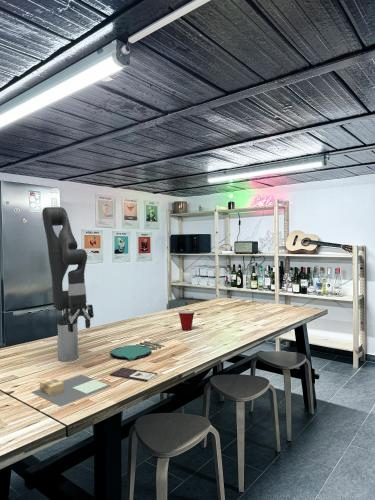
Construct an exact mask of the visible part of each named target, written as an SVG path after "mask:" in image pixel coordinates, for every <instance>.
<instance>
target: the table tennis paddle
mask: <svg viewBox="0 0 375 500" xmlns="http://www.w3.org/2000/svg"><path fill="white" fill-rule="evenodd" d="M140 344H141V345H140ZM164 347H166V346H165V345H163V344H159V343H157V342H156V343H155V342H154V343H153V342H149V341H146V340H144V341H143V342H139V344H127V345H123V346H119V347H116V348H112V349H111V350H110V352H109V355H112V356H113V357H116V358H119V359H127V360H129V361H134V360H135V359H137V358H142V357H144V356H148V355H149V354H150V353H152V350H154V351H155V350H158V348H159V349H160V348H164Z"/></svg>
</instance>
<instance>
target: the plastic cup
mask: <svg viewBox="0 0 375 500" xmlns="http://www.w3.org/2000/svg"><path fill="white" fill-rule="evenodd" d="M177 313H178V315H179V320H180V325H181V329H182V331H184V332H188V331H189V332H190V331H191V330H192V327H193V319H194V315H195V313H196V311H194V310H180V311H177Z"/></svg>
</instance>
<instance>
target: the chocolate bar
mask: <svg viewBox="0 0 375 500" xmlns="http://www.w3.org/2000/svg"><path fill="white" fill-rule="evenodd" d="M157 375H158V372H154V371H147V370H140V369H134V368H127V367H121V368H118V369H117V370H114V371H113V372H112V373H110V374H109V376H110V377H116V378H121V379H125V380H126V379H127V380H133V381H136V382H137V381H139V382H144V383H147V382H148V381H150V380H151V379H153V378H154V377H156V376H157Z"/></svg>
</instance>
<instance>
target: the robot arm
mask: <svg viewBox="0 0 375 500" xmlns="http://www.w3.org/2000/svg"><path fill="white" fill-rule="evenodd" d="M42 222H43V227H44V231H45V237H46V244H47V253H48V261H49V267H50V268H49V269H50V273H51V286H52V288H51V289H52V303H53V307H54V309H55V311H56V310H57V311H59V312H61V311H62V315H61V316H59V317H58V318H57V340H56V341H57V342H56V343H57V359H58V361H59V362H71V361H75V360H77V359H78V358H79V333H78V332H79V331H78V330H79V328H78V327H79V326H78V321H79V320H78V319H79V317H83V318H84V323H85V325H84V326H85V329H90V327H91V319H92V318H95V316H94V308H93V307H94V305H92V304H87V302H88V301H87V289H86V282H85V272H86V271H85V270H86V266H87V261H88V253H87V252H86V250H85V249H84V248H78V247H79V246H78V242H77V241H76V239H75V236H74V234H73V231H72V228H71V223H70V220H69V216H68V213H67V211H66V209H65V208H64V207H61V206H55V207H54V206H47V207H44V208H43V209H42ZM54 226H55V227H56V226H58V227H59V226H61V229H60V231H59V233H58V235H57V234H56V232H55V229H54ZM69 266H77V267H76V268H75V269H72V270H70V271H68V269H69ZM67 271H68V273H67ZM66 273H67V278H68V279H67V282H68V286H67V287H68V288H67V290H63V288H64V287H63V283H64V278H65V276H66Z"/></svg>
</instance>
